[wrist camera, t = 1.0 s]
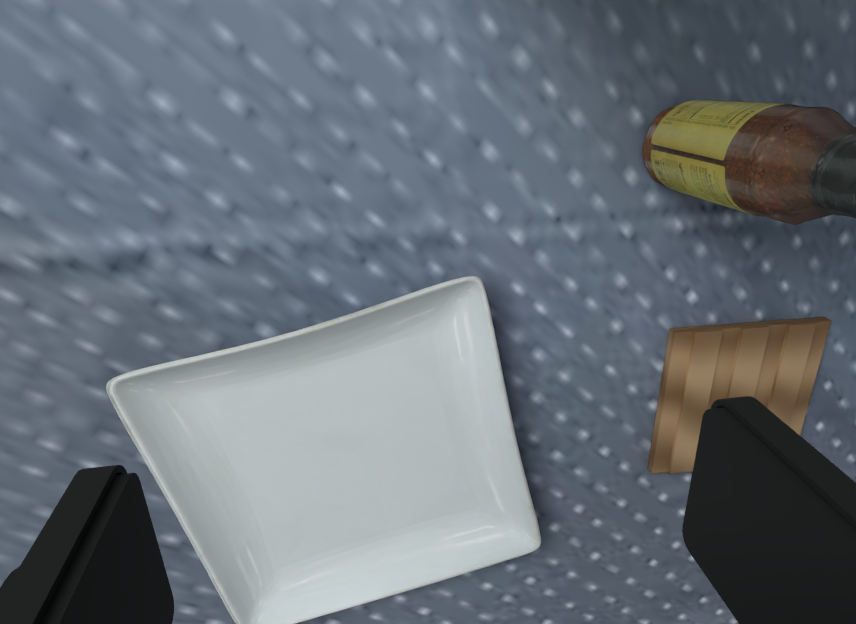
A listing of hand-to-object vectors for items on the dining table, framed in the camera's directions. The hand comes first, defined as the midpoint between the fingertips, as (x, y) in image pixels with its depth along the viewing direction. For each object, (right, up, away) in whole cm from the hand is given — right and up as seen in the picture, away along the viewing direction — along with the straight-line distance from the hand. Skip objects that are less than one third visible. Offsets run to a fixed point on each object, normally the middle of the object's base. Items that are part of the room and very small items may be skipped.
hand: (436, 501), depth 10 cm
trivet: (+27, -4, +43) cm, 51 cm away
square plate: (-7, -8, +40) cm, 42 cm away
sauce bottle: (+18, +16, +34) cm, 41 cm away
